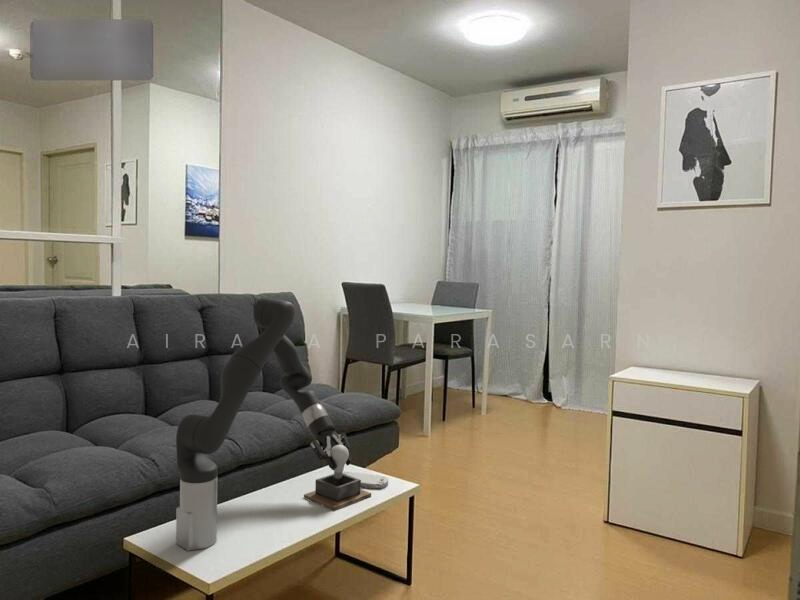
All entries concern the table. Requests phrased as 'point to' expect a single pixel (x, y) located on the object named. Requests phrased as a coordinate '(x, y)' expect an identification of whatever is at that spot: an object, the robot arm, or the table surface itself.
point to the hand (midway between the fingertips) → (342, 466)
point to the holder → (337, 491)
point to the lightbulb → (339, 459)
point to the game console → (369, 480)
